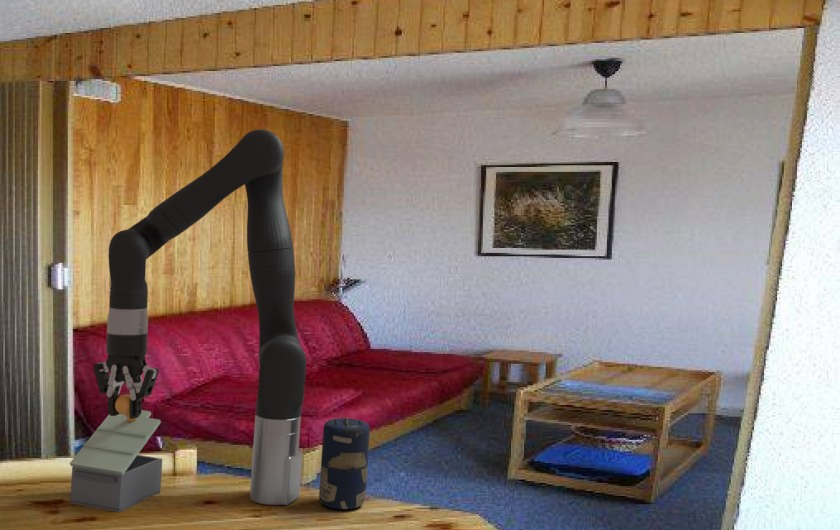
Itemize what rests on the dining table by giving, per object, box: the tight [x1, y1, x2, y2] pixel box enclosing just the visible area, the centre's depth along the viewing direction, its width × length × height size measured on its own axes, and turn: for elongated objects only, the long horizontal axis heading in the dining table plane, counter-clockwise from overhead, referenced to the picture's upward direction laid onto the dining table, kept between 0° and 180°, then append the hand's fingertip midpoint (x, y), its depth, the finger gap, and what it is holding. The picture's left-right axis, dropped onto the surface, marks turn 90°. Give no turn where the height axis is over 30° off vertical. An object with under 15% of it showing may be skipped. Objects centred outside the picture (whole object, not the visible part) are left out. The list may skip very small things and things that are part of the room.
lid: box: [69, 393, 162, 475], centre depth 151 cm, size 12×15×7 cm
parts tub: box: [69, 454, 163, 513], centre depth 153 cm, size 11×14×7 cm
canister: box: [318, 416, 371, 510], centre depth 158 cm, size 10×10×18 cm
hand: (124, 416), depth 154 cm, fingers closed on lid, 4 cm apart
